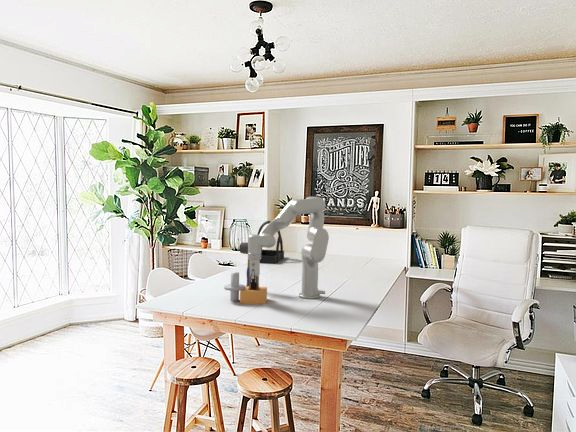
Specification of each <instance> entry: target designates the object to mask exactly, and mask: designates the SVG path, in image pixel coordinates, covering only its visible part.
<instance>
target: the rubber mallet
mask: <svg viewBox="0 0 576 432" xmlns="http://www.w3.org/2000/svg"><path fill="white" fill-rule="evenodd" d="M238 250H239V253H240V254H244V255H248V242H241V243H240V244H239V247H238ZM249 274H250V259H248V258H247V268H246V285H245V286H249Z"/></svg>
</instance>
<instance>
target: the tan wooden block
mask: <svg viewBox="0 0 576 432" xmlns="http://www.w3.org/2000/svg"><path fill="white" fill-rule="evenodd" d="M254 277H255V276H254ZM259 287H260V275H259V276H258V277H257V276H256V289H251V277H250V274H249V290H259Z"/></svg>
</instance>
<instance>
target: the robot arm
mask: <svg viewBox="0 0 576 432" xmlns="http://www.w3.org/2000/svg"><path fill="white" fill-rule="evenodd" d="M325 207H326V202H325V200H324V199H323V197H320V196H307V197H306V198H305V199H303V198H301V199H300V198H292V199H290V201H288V202H287V204H286V205H285V206H284V207H283V208H282V210H281V211H280V213H278V215H276V217H275V218H274V219H273V220H270V221H271V222H270V223H268V224H266V225H265V226H264V227H263V228H262V230H261V232H260V234H259V235H257V234H256V233H255V234H249V235H248V236H247V243H248V254H247V260H248V259H250V277H251V289H256V276H257V277H258V276H259V277H260V274H261V271H260V270H261V269H260V268H261V266H260V264H261V263H260V259H261V247H262V248H265V249H267V248H268V249H269V248H273V247H275V245H277V241H276V240H277V239H276V238H275V234H278V231H279V230H280V231H282V230H284V229H286V228H287V227H289V226H290V225H291V223H292V222H293V221H294V219H295V218H296V217H297V216H298V215H306V214H307V215H308V214H309V224H308V228H307V234H306V238H307V239H308V241H309V242H312V243H307V244H305V245H304V246H303V247H302V248H301V262H302V264H301V265H302V267H301V268H302V269H301V270H302V272H301V292H300V293H299V294H298V297H300V298H302V299H308V300H309V299H310V300H311V299H319V298H321V295H326V291H325V290H320V289H319V286H318V285H319V263H321V262H322V261H324V259H325V257H326V254H327V249H328V244H329V238H330V237H329V236H330V235H329V232H328V230H327V229H326V228H324V223H325V213H324V209H325ZM254 276H255V277H254Z"/></svg>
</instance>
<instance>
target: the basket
mask: <svg viewBox="0 0 576 432" xmlns="http://www.w3.org/2000/svg"><path fill="white" fill-rule="evenodd" d="M271 221H272V220H267V221H264V222H263V223H262V224H261V225H260V227H259V229H258V231H257V234H256V235H259V234H260V233H261V232H262V230H263V229H264V228H265V227H266V226H267V225H268V224H269V223H270V222H271ZM277 235H278V236H277V239H276V240H277V241H276V246H275V247H276V249H263V247H261V259H260V264H261V265H262V264H266V265H267V264H268V265H276V264H278V263H279V262H280V261H282V260H283V259H284V257H285V250H284V246H283V239H282V234H281V230H279V231H278V232H277Z"/></svg>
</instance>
